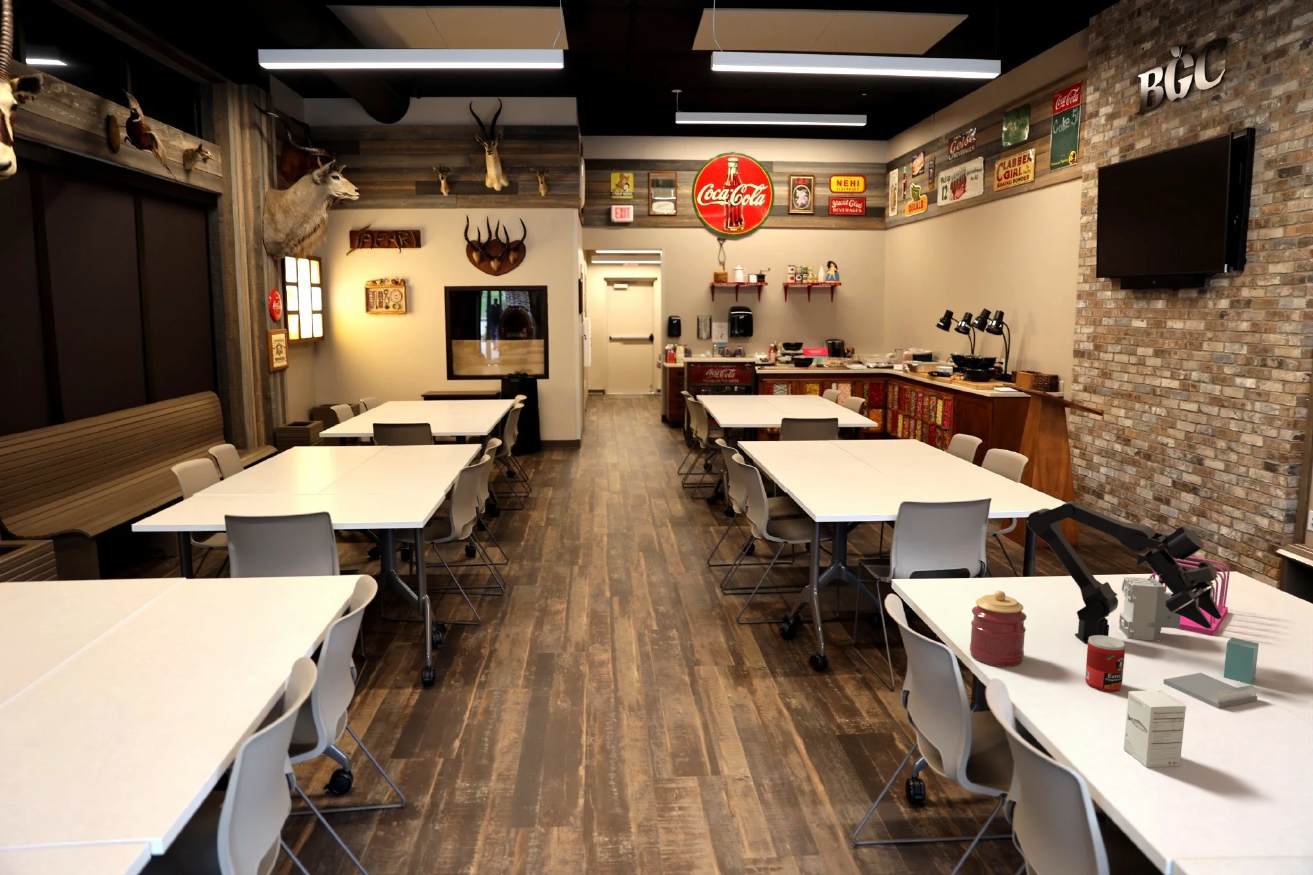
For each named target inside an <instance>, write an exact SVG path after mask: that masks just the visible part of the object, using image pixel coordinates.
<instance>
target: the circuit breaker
mask: <svg viewBox="0 0 1313 875" xmlns="http://www.w3.org/2000/svg"><path fill="white" fill-rule="evenodd" d="M1121 583H1122V584H1121V593H1123V597H1124V602H1123V611H1122V612H1119V619H1118V624H1119V625H1118V626H1119V627H1118V630H1119V629H1120V630H1119V631H1120V632H1121V633H1122V634H1123V636H1125V638H1126V639H1132V638H1133V639H1132V640H1144V641H1145V640H1147V641H1158V640H1160V641H1161V638H1162V634H1161V632H1162V628H1165V629H1178V628H1180V618H1181V615H1179V614H1175V613H1174V612H1175V611H1177V610H1178V609H1176V610H1174V611H1173V612H1170V611H1169V609H1168V608H1167V607H1166V601H1167V600H1168V599H1169V598H1171V597H1172V596H1171V594H1173V593H1172V592H1167V591H1166V592H1165V587H1164V586H1165V585H1164V584H1163V585H1161V583H1159V582H1158V580H1157V579H1156V578H1155V579H1153V577H1152V578H1150V577H1132V576H1128V577H1125V576H1123V581H1122V582H1121Z"/></svg>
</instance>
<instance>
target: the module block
mask: <svg viewBox="0 0 1313 875" xmlns="http://www.w3.org/2000/svg"><path fill="white" fill-rule="evenodd" d="M1225 650H1226V651H1225V658H1224V660H1225V661H1224V669H1223V678H1224V679H1228V680H1232V681H1236V682H1239V681H1240V682H1239V683H1243V684H1246V683H1247V684H1246V685H1252V683H1253V682H1254V681H1255V679H1256V673H1257V663H1258V654H1259V642H1254V641H1250V640H1245V639H1240V638H1237V637H1230V639H1229V640H1227V641H1226V649H1225Z"/></svg>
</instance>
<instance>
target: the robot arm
mask: <svg viewBox="0 0 1313 875" xmlns="http://www.w3.org/2000/svg"><path fill="white" fill-rule="evenodd" d="M1067 518H1068V519H1072V520H1073V521H1076V522H1078V523H1081V524H1083V525H1085V526H1087V527H1090V528H1092V529H1094V530H1098V531H1100V532H1103V533H1104V534H1106V535H1109V536H1112V537H1113V538H1114V539H1115V540H1116V541H1117V542H1119V544H1121V545H1122V546H1124V547H1126V548H1127V549H1129V550H1131V551H1133V552H1136V553H1137V552H1138V554H1137V555H1136V556H1137V558H1136V559H1137V560H1136V563H1135V564H1136V566H1141V565H1142V564H1144V563H1146V564H1147V566H1148V567H1149V568H1150V569H1151V570H1152V572H1153V573H1154V572H1155V573H1156V575H1155V576H1157V577H1158V579H1159V578H1160V579H1161V580H1160V581H1159V582H1160V584H1161V585H1162V584H1163V585H1164V586H1165V585H1166V586H1167V587H1166V588H1167V589H1168V590H1169V591H1170V593H1172V594H1171V596H1172V597H1171V598H1169V599H1168V600H1167V601H1166V607H1167V608H1168V609H1169V611H1170V612H1173V611H1174V610H1176V609H1178V610H1177V611H1175V612H1174V613H1175V614H1179V615H1181V616H1183V617H1185V618H1188V619H1190V620H1191V621H1193V622H1195V623H1197V624H1199V625H1201V626H1203V627H1205V628H1207V629H1208V628H1210V627H1211V625H1210V623H1209V621H1208V620H1207V618H1206V617H1205V615H1204V614H1203V613H1202V611H1201V610H1200V608H1201V609H1203V610H1204V611H1205V612H1207V613H1208V614H1210V615H1211V616H1213V617H1214V618H1216V619H1220V618H1222V616H1221V614H1220V612H1219V610H1218V608H1217V606H1216V604H1215V599H1214V600H1213V598H1212V593H1213V586H1214V582H1213V581H1215V578H1216V579H1217V578H1219V577H1218V576H1219V575H1218V574H1216V571H1217V568H1216V567H1214V566H1215V565H1214V564H1212V563H1211V562H1208V561H1201V562H1198V563H1199V565H1198V566H1197V567H1198V568H1190V569H1189V567H1186V566H1180V565H1179V564H1178V563H1179V561H1176V560H1175V559H1181V560H1186V559H1189V558H1188V557H1189V556H1192V555H1194V554H1195V553H1197V552H1198V551H1200V550H1202V549H1203V548H1204V547H1205V545H1204V542H1203V541H1202V539H1201V538H1200V537H1199V535H1198V534H1197V533H1194V532H1193V531H1192V530H1190V529H1188V528H1187V527H1186V526H1185V525H1181V526H1180V527H1178V528H1177V529H1176V530H1175V531H1174V532H1172V533H1171V534H1168V535H1167V534H1163V533H1159V532H1156V531H1155V530H1154V529H1153V528H1151V527H1150V526H1147V525H1142V524H1138V523H1135V522H1128V521H1127V522H1125V521H1121V520H1118V519H1116V518H1113V517H1111V516H1108V515H1107V514H1104V513H1101V512H1099V511H1096V510H1094V509H1092V508H1089V507H1087V506H1084V505H1082V504H1079V503H1078V502H1077V501H1073V500H1072V501H1067V502H1065V503H1063V504H1062V505H1059V506H1057V507H1054V508H1041V509H1037V510H1035V511H1033V512H1030V513H1029V515H1028V516H1027V519H1026V525H1027V527H1028V529H1030V530H1031V531H1032V533H1034V535H1035V536H1036V537H1038V538H1039V539H1041V540H1042V541H1044V542H1045V543H1047V545H1048V546H1049V547H1050V549H1051V551H1053V553H1054V554H1055V555H1056V557H1057V558H1058V560H1059V561H1060V562H1061V564H1062V565H1063V567H1064V568H1065V569H1066V571H1067V572H1068V573H1069V575H1070V577H1071V578H1072V580H1074V582H1075V583H1076V584H1077V586H1078V588H1079V589H1080V594H1081V598H1082V601H1083V604H1084V605H1085V606H1083V607H1082V608H1081V609H1079V610H1077V611H1076V614H1077V618H1078V628H1077V629H1078V630H1077V633H1074V636H1075V637H1076V638H1078V639H1079V640H1080V641H1081V642H1083V643H1084V644H1087V645H1088V639H1089V637H1090V636H1094V635H1103V636H1110V635H1109V633H1110V632H1109V631H1110V625H1109V622H1108V621H1109V619H1107V617H1109V616H1110V614H1111V613H1113V612H1114V611H1116V610H1117V608H1118V607H1119V606H1118V605H1119V599H1118V597H1117V596H1118V593H1117V592H1115V591H1114V590H1113V588H1112V586H1111V585H1110V583H1109V582H1108V581H1106V582H1104V583H1101V582H1100V581H1099V580H1097V579H1096V578H1095V577H1094V575H1093V574H1092V573H1091V571H1090V570H1089V568H1088V567H1087V565H1086V564H1085V563H1084V561H1083V560H1082V558H1081V557H1080V555H1079V554H1078V553H1077V551H1076V550H1075V549H1074V547H1073V546H1072V545H1071V543H1070V542H1069V540H1068V539H1067V538H1066V536H1065V535H1064V533H1063V528H1062V524H1061V521H1062V520H1065V519H1067ZM1161 545H1163V546H1162V547H1161V548H1160V549H1157V548H1158V547H1160V546H1161ZM1148 549H1150V550H1148ZM1146 550H1148V551H1147V552H1146V553H1142V552H1144V551H1146ZM1176 564H1177V565H1176ZM1213 565H1214V566H1213ZM1159 575H1160V576H1159ZM1212 584H1213V586H1212V587H1211V585H1212ZM1199 607H1200V608H1199Z"/></svg>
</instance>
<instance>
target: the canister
mask: <svg viewBox="0 0 1313 875" xmlns="http://www.w3.org/2000/svg"><path fill="white" fill-rule="evenodd" d="M1023 610H1024V605H1023V604H1022V603H1020V602H1019V601H1018V600H1017V599H1015V598H1013V597H1012V596H1011V597H1010V596H1007V595H1006V594H1005V592H1004V591H1002V590H997V591H996V592H995V593H994V594H986V595H984V596H983V595H982V597H979V598H977V599H976V600H975V606H974V607H972V609H971V613H972V614H973V619H972V620H971V622H970V623H971V630H970V634H971V635H970V643H969V651H970V656H971V657H972V658H973V659H974V660H976V661H978V662H981V663H983V664H986V665H991V666H994V667H995V666H996V667H1014V666H1015V667H1016V666H1019V665H1020V664H1022V663H1023V660H1024V657H1025V650H1024V648H1025V632H1026V631H1027V629H1026V627H1025V621H1026V620H1027V614H1026V613H1025V612H1024V611H1023Z"/></svg>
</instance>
